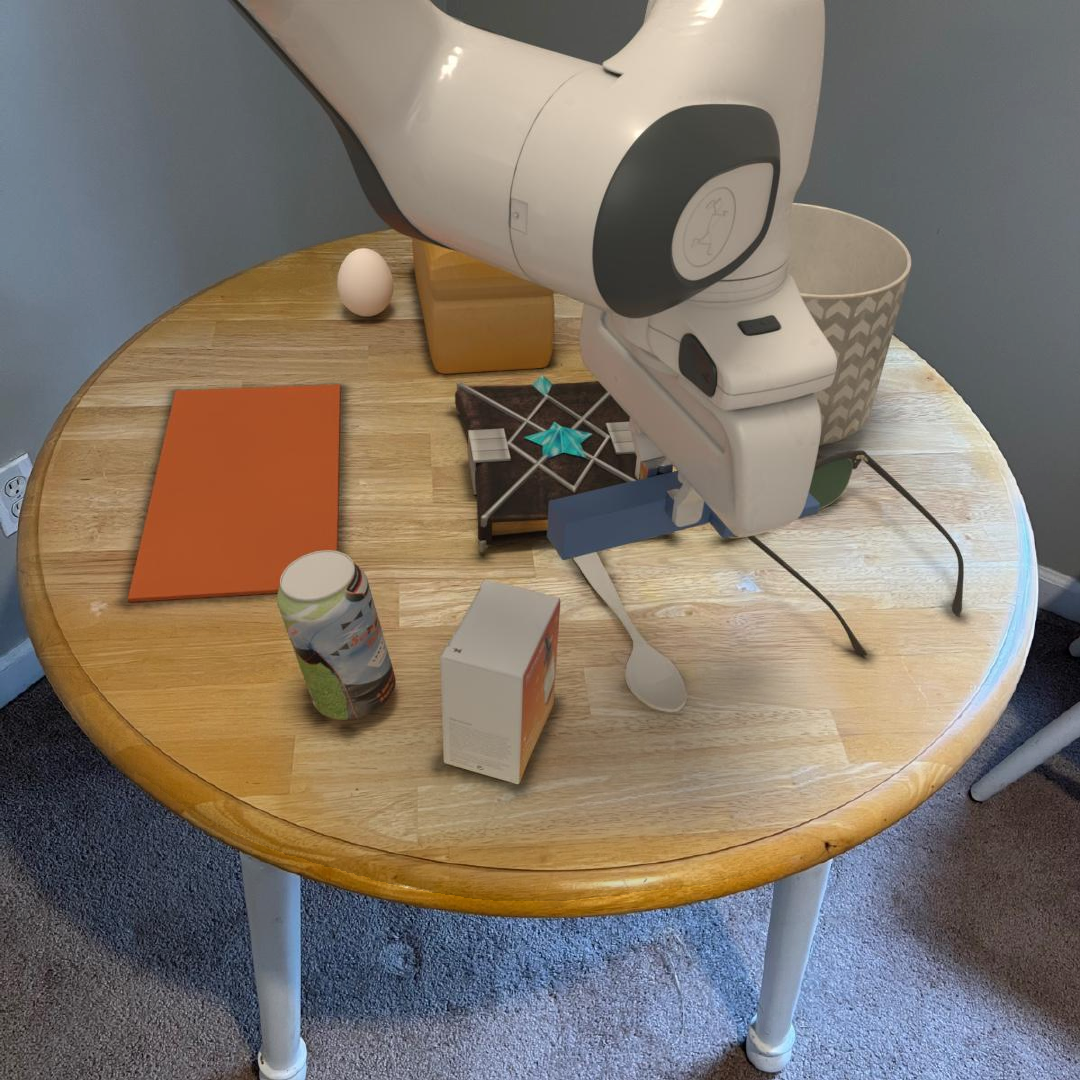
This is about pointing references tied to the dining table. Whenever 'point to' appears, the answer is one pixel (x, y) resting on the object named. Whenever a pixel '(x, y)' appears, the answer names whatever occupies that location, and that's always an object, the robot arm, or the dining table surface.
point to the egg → (365, 282)
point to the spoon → (638, 648)
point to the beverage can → (336, 634)
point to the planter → (848, 304)
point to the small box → (499, 680)
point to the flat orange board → (240, 491)
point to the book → (540, 451)
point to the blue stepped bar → (624, 516)
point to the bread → (481, 313)
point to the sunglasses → (828, 488)
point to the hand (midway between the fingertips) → (667, 500)
